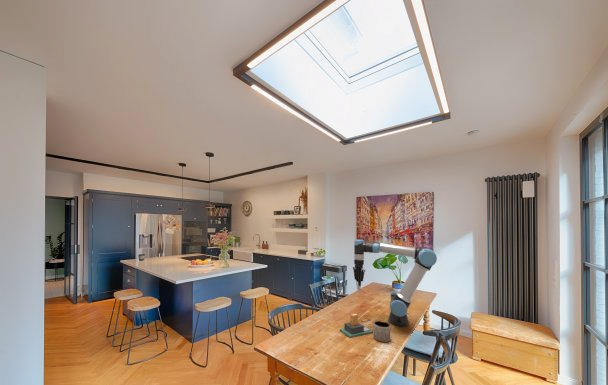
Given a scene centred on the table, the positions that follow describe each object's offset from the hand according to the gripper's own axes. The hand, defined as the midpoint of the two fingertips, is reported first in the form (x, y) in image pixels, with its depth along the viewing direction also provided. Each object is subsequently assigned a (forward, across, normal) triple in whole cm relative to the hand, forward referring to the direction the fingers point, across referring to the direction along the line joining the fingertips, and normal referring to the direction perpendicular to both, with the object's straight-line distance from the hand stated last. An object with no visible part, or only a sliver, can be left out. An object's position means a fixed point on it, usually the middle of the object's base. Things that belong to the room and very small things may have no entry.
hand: (358, 289), depth 200 cm
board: (+24, +13, -12) cm, 30 cm away
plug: (+22, +13, -14) cm, 29 cm away
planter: (+25, +28, -2) cm, 37 cm away
